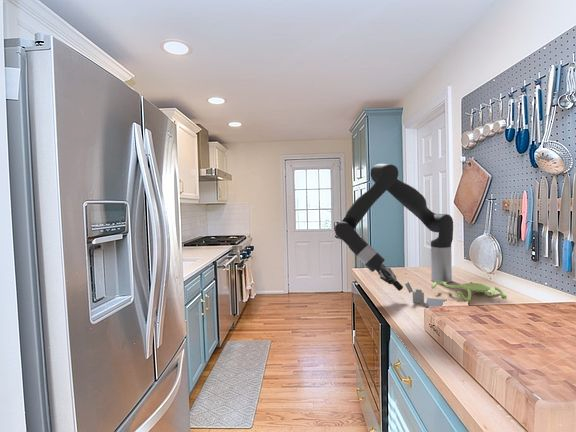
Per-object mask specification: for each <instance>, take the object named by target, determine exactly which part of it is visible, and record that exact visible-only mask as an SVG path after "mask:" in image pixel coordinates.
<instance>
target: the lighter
mask: <svg viewBox="0 0 576 432" xmlns="http://www.w3.org/2000/svg"><path fill="white" fill-rule="evenodd" d="M404 285H405V288H406V289H407V291H408V293H409V294H410V293H411V294H412V303H416V304H425V292H424V291H423V290H422V289H420V288H415V290H413V288H412V286H411V284H410V283H409V281H405V282H404Z"/></svg>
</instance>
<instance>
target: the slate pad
mask: <svg viewBox="0 0 576 432" xmlns="http://www.w3.org/2000/svg"><path fill="white" fill-rule="evenodd" d="M426 298H427V297H426ZM447 300H448V299H445V298H444V299H443V298H433V297H432V298H431V297H428V298H427V299H426V302H425V308H428V307H429V306H442V305H443V302H445V301H447Z"/></svg>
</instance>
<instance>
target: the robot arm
mask: <svg viewBox="0 0 576 432" xmlns="http://www.w3.org/2000/svg"><path fill="white" fill-rule="evenodd" d="M370 177H371V180H372V181H373V182H374V184H373V185H372V186H371V187H370V188H369V189H368V190H366V191H365V192H364V193H363V194H361V195H360V196H359V197H357V199H355V201H354V202H353V203H352V205H351V206H350V207H349V209H348V210H347V211H346V214H345V216H344V218H343V219H342V220H341V221H340V222H338V223H336V225H335V227H334V235H335V236H336V238H338V239H339V240H342V242H344V243H345V244H346V245H347V247H348V248H349V249H350V251H351V252H352V253H353V254H354V255H355V256H356V257H357V258H358V260H359V261H361V263H362V264H363V265H364V266H365V267H366V268H367V269H368V270H369V271H370V272H372V273H373V272H375V271H376V272H377V275H379V278H380V279H381V280H382V281H384V282H385V283H387V284H389V285H392V286H393V287H394V288H395V289H396V290H397V291H399V292H400V291H402V290H403V288H404V286H403V284H401V283H400V282H399V281H398V278H397V276H396V275H395V273H394V272H393V270H392V269H391V267H389V266H387V265H385V264H383V263H384V262H385V258H384V257H383V256H382V255H381V254H380V253H379V252H377V250H376V249H374V248H373V247H372V246H371V245H369V243H368V242H367V241H365V240H364V238H362V236H360V235H359V234H358V232H357V231H356V227H358V225H359V223H360V222H361V221H362V220H363V218H364V217H365V215H366V214H367V213H368V211H369V210H370V209H371V208H372V206H373V205H374V204H375V202H377V201H378V200H379V198H381V196H382V195H383V194H385V193H386V191H387V192H388V193H389V194H390V195H391V196H392V197H393V198H395V199H396V200H397V201H398V202H399V203H400V204H401V205H402V206H403V207H404V208H406V209H407V210H408V211H410V212H411V213H412V214H413V215H414V216H415V217H417V218H418V220H420V222H421V223H422V224H423V225H424V226H425V227H426V228H427V229H428V231H431V232H433V233H438V237H436V238H435V239H432V240H430V268H431V269H430V272H431V273H430V275H431V281H432V282H433V283H434V282H446V283H447V284H448V283H452V282H453V270H452V269H453V268H452V266H453V265H452V260H453V259H452V243H453V241H454V221H453V217H452V216H451V215H450V214H447V213H435V212H433V211H432V210H431V209H429V207H427V200H426V198H425V196H424V195H423V194H421V193H420V191H418V189H416V188H415V187H413V186H411V185H410V184H407V183H405V182H403V181H401V180H399V179H398V177H399V169H398V167H397V166H396V165H394V164H393V163H392V164H391V163H377V164H375V165H373V166H372V167H371V169H370Z"/></svg>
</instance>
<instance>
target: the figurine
mask: <svg viewBox="0 0 576 432" xmlns="http://www.w3.org/2000/svg"><path fill="white" fill-rule="evenodd" d="M437 285H443V286H444V287H446V288H451V289H462V290H465V291H466V292H467V296H468V297H467V298H466V297H465V295H464V293H463V292H461V291H460V290H457V291H456V292H455V294H456V295H457V296H458V298H459V299H460V300H459V301H461V300H462V301H465V300H466V301H468V302H471V300H472V295H474V294H475V293H477V294H481V293H482V292H483V294H485V295H486V296H488V297H493V296H494V295H495V293H496V291H497V292H498V293H499V297H501V298H506V297H507V295H506V293H505V292H504V291H503V290H502V289H500V288H498V287H493V288H492V290H491V287H490V286H489V285H487V284H483V283H480V282H479V283H477V282H472V281H471V282H469V283H468V282H467V283H462V284H460V285H455V284H448V283H446V282H434V281H433V285H432V286H431V289H432V290H433V289H435V288H436V287H437ZM490 290H491V293H490V292H489V291H490ZM460 295H461V296H462V298H461V296H460ZM463 299H464V300H463Z"/></svg>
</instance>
